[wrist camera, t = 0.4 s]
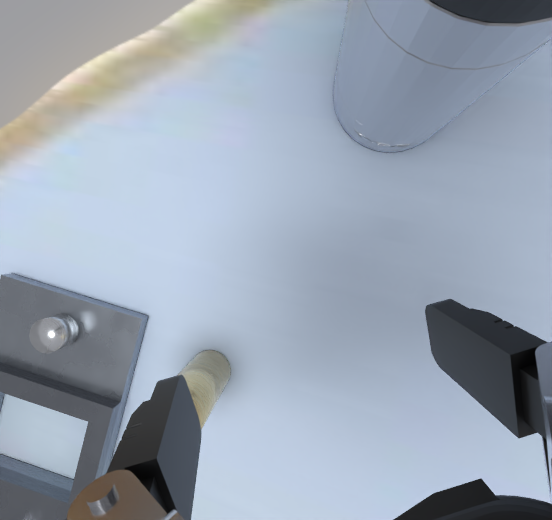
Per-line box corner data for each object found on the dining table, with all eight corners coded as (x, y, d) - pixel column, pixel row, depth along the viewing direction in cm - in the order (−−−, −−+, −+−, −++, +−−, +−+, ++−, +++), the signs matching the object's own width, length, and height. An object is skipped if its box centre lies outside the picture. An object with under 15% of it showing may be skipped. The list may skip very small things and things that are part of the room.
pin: (195, 344, 31) (135, 402, 20) (235, 357, 31) (195, 422, 20) (185, 383, 31) (119, 461, 20) (224, 396, 31) (179, 481, 20)
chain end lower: (12, 273, 32) (-20, 277, 29) (148, 315, 31) (130, 324, 28) (-30, 462, 34) (-65, 485, 31) (98, 507, 33) (76, 536, 30)
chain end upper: (-5, 352, 33) (-54, 369, 28) (127, 395, 32) (99, 420, 28) (-46, 533, 34) (-98, 576, 30) (79, 580, 33) (45, 631, 29)
